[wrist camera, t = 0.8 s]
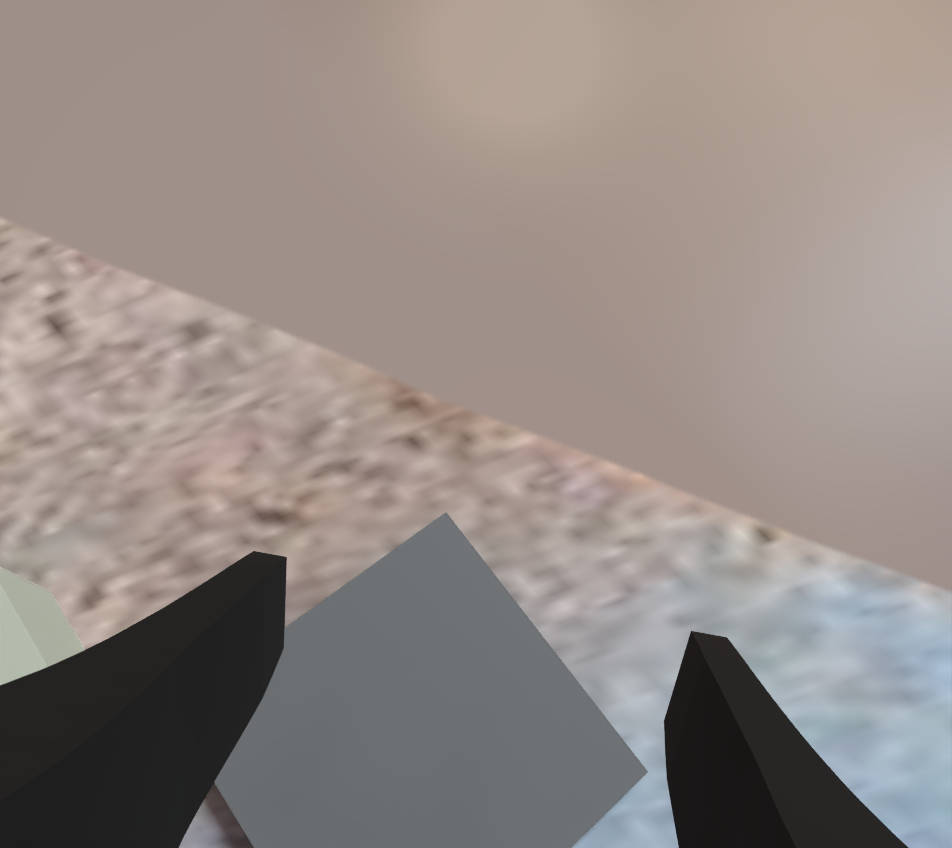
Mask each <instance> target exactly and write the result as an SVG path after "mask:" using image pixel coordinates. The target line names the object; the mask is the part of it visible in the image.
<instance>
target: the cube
mask: <svg viewBox="0 0 952 848" xmlns="http://www.w3.org/2000/svg"><path fill="white" fill-rule="evenodd" d="M84 650H85V648H84V647H83V645H82V643H81V642H80V640H79V638H78V636H77V635H76V633H75V631H74V630H73V628H72V626H71V625H70V623H69V621H68V620H67V618H66V616H65V614H64V613H63V611H62V609H61V608H60V606H59V604H58V603H57V601H56V599H55V598H54V596H53V594H52V592H51V591H50V590H48V589H46V588H44V587H41V586H39V585H37V584H35V583H33V582H31V581H29V580H27V579H25V578H23V577H21V576H18V575H16V574H14V573H12V572H10V571H8V570H6V569H4V568H2V567H0V685H2V684H5V683H8V682H10V681H13V680H15V679H18V678H21V677H23V676H26V675H28V674H31V673H34V672H36V671H39V670H41V669H44V668H46V667H49V666H51V665H53V664H56V663H58V662H60V661H62V660H64V659H67V658H69V657H71V656H73V655H75V654H78V653H80V652H82V651H84Z"/></svg>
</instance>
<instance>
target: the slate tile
mask: <svg viewBox="0 0 952 848" xmlns="http://www.w3.org/2000/svg"><path fill="white" fill-rule="evenodd" d="M647 772H648V771H647V770H646V769H645V767H644V766H643V765H642V764H641V762H640V761H639V760H638V758H637V757H636V756H635V755H634V753H633V752H632V751H631V749H630V748H629V747H628V746H627V744H626V743H625V742H624V740H623V739H622V738H621V737H620V735H619V734H618V733H617V731H616V730H615V729H614V728H613V726H612V725H611V724H610V722H609V721H608V720H607V719H606V717H605V716H604V715H603V713H602V712H601V711H600V710H599V708H598V707H597V706H596V704H595V703H594V702H593V701H592V699H591V698H590V697H589V695H588V694H587V693H586V692H585V690H584V689H583V688H582V686H581V685H580V684H579V683H578V681H577V680H576V679H575V677H574V676H573V675H572V674H571V672H570V671H569V670H568V668H567V667H566V666H565V665H564V663H563V662H562V661H561V659H560V658H559V657H558V656H557V654H556V653H555V652H554V650H553V649H552V648H551V647H550V645H549V644H548V643H547V641H546V640H545V639H544V638H543V636H542V635H541V634H540V632H539V631H538V630H537V629H536V627H535V626H534V625H533V623H532V622H531V621H530V620H529V618H528V617H527V616H526V614H525V613H524V612H523V611H522V609H521V608H520V607H519V605H518V604H517V603H516V602H515V600H514V599H513V598H512V596H511V595H510V594H509V593H508V591H507V590H506V589H505V587H504V586H503V585H502V584H501V582H500V581H499V580H498V578H497V577H496V576H495V575H494V573H493V572H492V571H491V569H490V568H489V567H488V566H487V564H486V563H485V562H484V560H483V559H482V558H481V557H480V555H479V554H478V553H477V551H476V550H475V549H474V548H473V546H472V545H471V544H470V542H469V541H468V540H467V539H466V537H465V536H464V535H463V533H462V532H461V531H460V530H459V528H458V527H457V526H456V524H455V523H454V522H453V521H452V519H451V518H450V517H449V515H448V514H447V513H444V514H443V515H441V516H440V517H439V518H437V519H436V520H435V521H433V522H432V523H430V524H429V525H428V526H426V527H425V528H423V529H422V530H421V531H419V532H418V533H416V534H415V535H414V536H412V537H411V538H409V539H408V540H407V541H405V542H404V543H403V544H401V545H400V546H398V547H397V548H396V549H394V550H393V551H391V552H390V553H389V554H387V555H386V556H384V557H383V558H382V559H380V560H379V561H377V562H376V563H375V564H373V565H372V566H371V567H369V568H368V569H366V570H365V571H364V572H362V573H361V574H359V575H358V576H357V577H355V578H354V579H352V580H351V581H350V582H348V583H347V584H345V585H344V586H343V587H341V588H340V589H338V590H337V591H336V592H334V593H333V594H332V595H330V596H329V597H327V598H326V599H325V600H323V601H322V602H320V603H319V604H318V605H316V606H315V607H313V608H312V609H311V610H309V611H308V612H306V613H305V614H304V615H302V616H301V617H300V618H298V619H297V620H295V621H294V622H293V623H291V624H290V625H288V626H287V627H286V628H284V649H283V652H282V654H281V656H280V659H279V661H278V664H277V666H276V669H275V671H274V673H273V676H272V678H271V680H270V683H269V685H268V687H267V690H266V692H265V694H264V696H263V699H262V700H261V702H260V704H259V706H258V708H257V709H256V711H255V713H254V715H253V716H252V718H251V720H250V722H249V723H248V725H247V727H246V728H245V730H244V732H243V734H242V735H241V737H240V739H239V741H238V742H237V744H236V746H235V747H234V749H233V751H232V753H231V754H230V756H229V758H228V759H227V761H226V763H225V764H224V766H223V768H222V770H221V771H220V773H219V775H218V776H217V778H216V780H215V782H214V783H215V785H216V786H217V788H218V790H219V791H220V793H221V795H222V796H223V798H224V799H225V801H226V803H227V804H228V806H229V808H230V809H231V811H232V813H233V814H234V816H235V818H236V819H237V821H238V822H239V824H240V826H241V827H242V829H243V831H244V832H245V834H246V836H247V837H248V839H249V841H250V842H251V844H252V845H253V847H254V848H571V847H572V846H573V845H574V844H575V843H576V842H577V841H578V840H579V839H580V838H581V837H582V836H583V835H584V834H585V833H586V832H587V831H588V830H589V829H590V828H591V827H592V826H593V825H594V824H595V823H596V822H597V821H599V820H600V819H601V818H602V817H603V816H604V815H605V814H606V813H607V812H608V811H609V810H610V809H611V808H612V807H613V806H614V805H615V804H616V803H617V802H618V801H619V800H620V799H621V798H622V797H623V796H624V795H625V794H626V793H627V792H628V791H629V790H630V789H631V788H632V787H633V786H634V785H635V784H636V783H637V782H638V781H639V780H640V779H641V778H642V777H643V776H644V775H645V774H646V773H647Z"/></svg>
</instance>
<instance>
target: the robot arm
mask: <svg viewBox="0 0 952 848" xmlns="http://www.w3.org/2000/svg"><path fill="white" fill-rule="evenodd" d="M286 561H287V557H283V556H278V555H272V554H267V553H261V552H256V551H253V552H252V553H250V554H248V555H247V556H245V557H243V558H242V559H240V560H239V561H237V562H236V563H234V564H233V565H231V566H229V567H228V568H226V569H225V570H223V571H222V572H220V573H219V574H217V575H216V576H214V577H212V578H211V579H209V580H208V581H206V582H205V583H203V584H201V585H200V586H198V587H197V588H195V589H193V590H192V591H190V592H189V593H187V594H185V595H184V596H182V597H181V598H179V599H177V600H176V601H174V602H173V603H171V604H169V605H168V606H166V607H164V608H163V609H161V610H159V611H157V612H155V613H154V614H152V615H150V616H148V617H146V618H145V619H143V620H141V621H139V622H138V623H136V624H134V625H132V626H130V627H129V628H127V629H125V630H123V631H121V632H120V633H118V634H116V635H114V636H112V637H110V638H108V639H106V640H104V641H103V642H101V643H98V644H96V645H94V646H92V647H90V648H88V649H86V650H84V651H82V652H80V653H78V654H75V655H73V656H71V657H69V658H67V659H64V660H62V661H60V662H58V663H56V664H53V665H51V666H49V667H46V668H44V669H41V670H39V671H36V672H34V673H31V674H28V675H26V676H23V677H21V678H18V679H15V680H13V681H10V682H8V683H5V684H2V685H0V848H179V846H180V843H181V841H182V839H183V837H184V835H185V833H186V831H187V829H188V828H189V826H190V824H191V822H192V820H193V818H194V816H195V814H196V812H197V811H198V809H199V807H200V805H201V804H202V802H203V800H204V799H205V797H206V795H207V793H208V792H209V790H210V788H211V787H212V785H213V783H214V782H215V780H216V778H217V776H218V775H219V773H220V771H221V770H222V768H223V766H224V764H225V763H226V761H227V759H228V758H229V756H230V754H231V753H232V751H233V749H234V747H235V746H236V744H237V742H238V741H239V739H240V737H241V735H242V734H243V732H244V730H245V728H246V727H247V725H248V723H249V722H250V720H251V718H252V716H253V715H254V713H255V711H256V709H257V708H258V706H259V704H260V702H261V700H262V699H263V696H264V694H265V692H266V690H267V687H268V685H269V683H270V680H271V678H272V676H273V673H274V671H275V669H276V666H277V664H278V661H279V659H280V656H281V654H282V652H283V649H284V627H285V594H286ZM664 731H665V754H666V771H667V781H668V787H669V794H670V799H671V805H672V811H673V817H674V823H675V828H676V834H677V839H678V845H679V848H908V847H907V846H906V845H905V844H904V843H903V842H902V841H901V840H900V839H898V838H897V837H896V836H895V835H894V834H893V833H892V832H891V831H890V830H889V829H888V828H887V827H886V826H885V825H884V824H883V823H882V822H881V821H880V820H879V819H878V818H877V817H876V816H875V815H874V814H873V813H872V812H871V811H870V810H869V809H868V808H867V807H866V806H865V805H864V804H863V803H862V802H861V801H860V800H859V799H858V798H857V797H856V796H855V795H854V794H853V793H852V792H851V791H850V790H849V789H848V787H847V786H846V785H845V784H844V783H843V782H842V781H841V780H840V779H839V778H838V776H837V775H836V774H835V773H834V772H833V771H832V770H831V769H830V767H829V766H828V765H827V764H826V763H825V762H824V761H823V760H822V758H821V757H820V756H819V755H818V754H817V753H816V752H815V750H814V749H813V748H812V747H811V746H810V744H809V743H808V742H807V741H806V740H805V738H804V737H803V736H802V735H801V734H800V732H799V731H798V730H797V729H796V728H795V726H794V725H793V724H792V723H791V721H790V720H789V719H788V718H787V716H786V715H785V714H784V712H783V711H782V710H781V709H780V707H779V706H778V705H777V703H776V702H775V701H774V700H773V698H772V697H771V696H770V694H769V693H768V692H767V690H766V689H765V688H764V686H763V685H762V684H761V682H760V681H759V680H758V678H757V677H756V676H755V674H754V673H753V672H752V670H751V669H750V668H749V666H748V665H747V664H746V662H745V661H744V659H743V658H742V657H741V655H740V654H739V653H738V651H737V650H736V649H735V647H734V646H733V645H732V643H731V642H730V641H729V640H728V638H727V637H721V636H716V635H710V634H705V633H699V632H694V631H691V633H690V637H689V640H688V643H687V647H686V650H685V653H684V657H683V660H682V663H681V667H680V670H679V673H678V676H677V680H676V683H675V686H674V690H673V693H672V696H671V700H670V703H669V706H668V710H667V713H666V716H665V720H664Z"/></svg>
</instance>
